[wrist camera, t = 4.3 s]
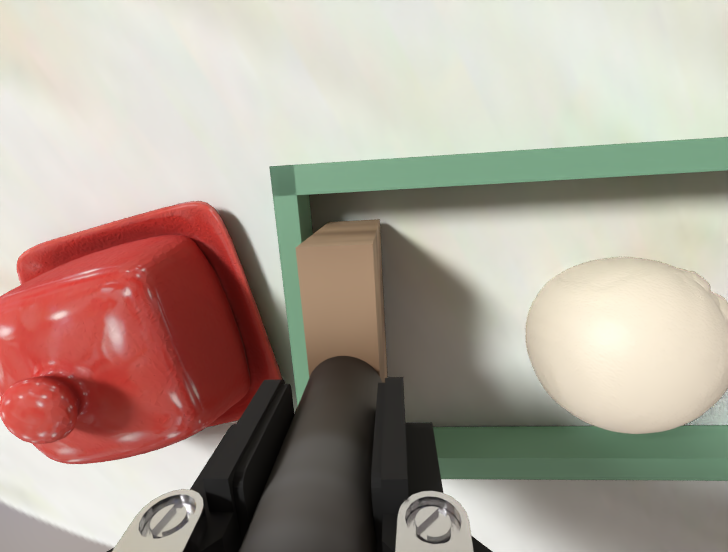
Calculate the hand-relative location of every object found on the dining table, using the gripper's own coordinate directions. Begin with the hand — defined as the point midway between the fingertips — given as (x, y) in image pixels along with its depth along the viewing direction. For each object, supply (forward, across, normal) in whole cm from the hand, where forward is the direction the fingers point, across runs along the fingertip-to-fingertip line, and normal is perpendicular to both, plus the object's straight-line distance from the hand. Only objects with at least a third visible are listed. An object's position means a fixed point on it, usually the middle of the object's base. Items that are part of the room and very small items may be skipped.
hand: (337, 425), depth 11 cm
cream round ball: (+9, -11, 0) cm, 14 cm away
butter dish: (+9, +11, 0) cm, 14 cm away
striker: (+9, 0, 0) cm, 9 cm away
